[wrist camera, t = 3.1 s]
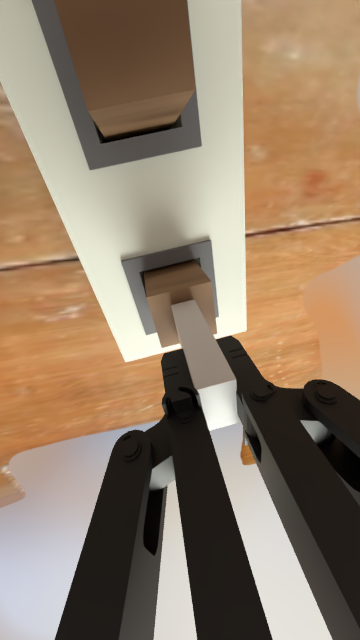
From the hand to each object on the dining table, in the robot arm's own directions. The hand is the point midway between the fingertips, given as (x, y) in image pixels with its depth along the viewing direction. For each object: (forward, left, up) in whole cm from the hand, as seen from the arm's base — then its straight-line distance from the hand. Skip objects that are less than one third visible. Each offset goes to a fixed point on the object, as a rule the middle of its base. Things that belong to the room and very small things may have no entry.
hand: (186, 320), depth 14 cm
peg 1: (-12, 0, -6) cm, 13 cm away
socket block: (-6, 0, -11) cm, 12 cm away
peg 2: (0, 0, -6) cm, 6 cm away
